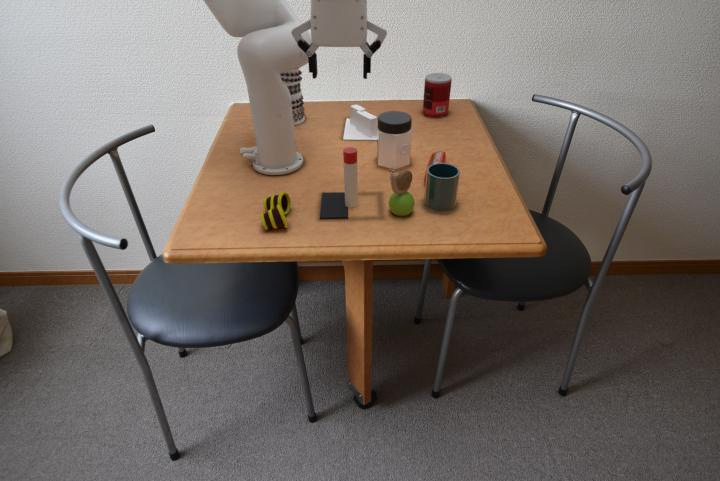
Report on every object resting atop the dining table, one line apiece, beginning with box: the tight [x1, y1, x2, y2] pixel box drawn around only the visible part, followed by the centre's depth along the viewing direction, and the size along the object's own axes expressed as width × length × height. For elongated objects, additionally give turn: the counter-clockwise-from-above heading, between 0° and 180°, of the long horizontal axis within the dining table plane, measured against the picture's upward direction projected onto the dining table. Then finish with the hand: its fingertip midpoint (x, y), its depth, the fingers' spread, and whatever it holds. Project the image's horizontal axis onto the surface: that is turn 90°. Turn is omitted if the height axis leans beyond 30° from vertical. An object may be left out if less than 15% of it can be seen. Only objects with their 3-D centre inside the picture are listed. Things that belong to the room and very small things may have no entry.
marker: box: [342, 146, 359, 209], centre depth 100 cm, size 3×3×13 cm
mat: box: [319, 191, 349, 220], centre depth 104 cm, size 13×10×1 cm
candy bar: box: [424, 151, 447, 185], centre depth 114 cm, size 16×4×3 cm, turn 165°
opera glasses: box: [260, 190, 292, 231], centre depth 99 cm, size 10×5×5 cm, turn 2°
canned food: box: [422, 72, 453, 118], centre depth 142 cm, size 8×8×11 cm
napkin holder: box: [342, 103, 378, 141], centre depth 135 cm, size 15×11×6 cm
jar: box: [376, 110, 413, 170], centre depth 116 cm, size 9×8×12 cm
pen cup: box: [423, 162, 461, 212], centre depth 102 cm, size 7×7×8 cm
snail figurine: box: [388, 168, 416, 217], centre depth 97 cm, size 5×6×12 cm
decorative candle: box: [280, 67, 306, 126], centre depth 135 cm, size 9×9×25 cm
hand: (340, 76), depth 91 cm, fingers open, 9 cm apart
